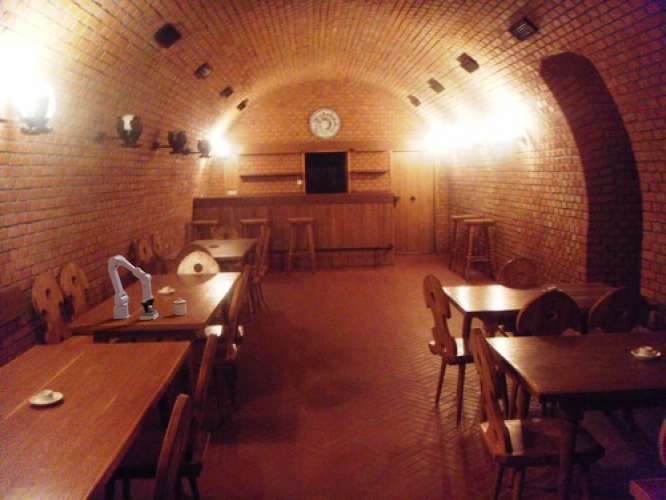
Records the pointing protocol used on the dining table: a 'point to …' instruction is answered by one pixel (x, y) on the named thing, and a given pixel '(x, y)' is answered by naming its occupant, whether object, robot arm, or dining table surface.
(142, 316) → the grey square tray
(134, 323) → the dining table surface
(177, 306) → the teacup with lid
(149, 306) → the gray domed cylinder
